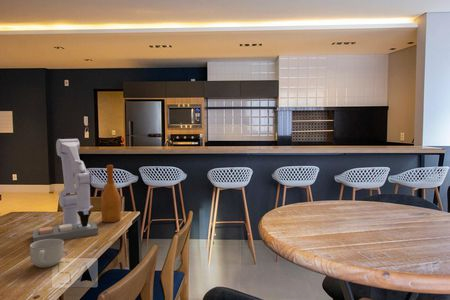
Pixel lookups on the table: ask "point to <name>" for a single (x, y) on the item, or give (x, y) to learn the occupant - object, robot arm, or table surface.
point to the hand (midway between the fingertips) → (84, 226)
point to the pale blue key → (84, 226)
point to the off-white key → (65, 227)
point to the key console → (66, 233)
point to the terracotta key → (45, 230)
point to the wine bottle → (110, 199)
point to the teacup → (46, 252)
